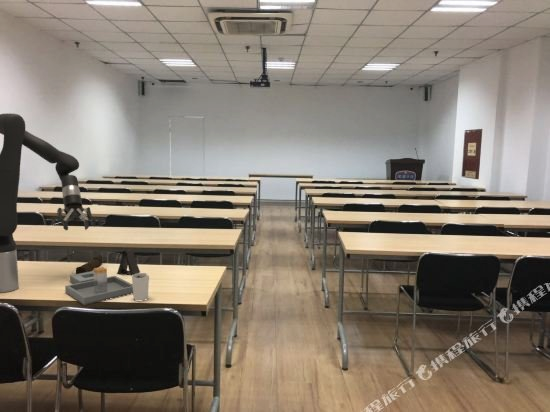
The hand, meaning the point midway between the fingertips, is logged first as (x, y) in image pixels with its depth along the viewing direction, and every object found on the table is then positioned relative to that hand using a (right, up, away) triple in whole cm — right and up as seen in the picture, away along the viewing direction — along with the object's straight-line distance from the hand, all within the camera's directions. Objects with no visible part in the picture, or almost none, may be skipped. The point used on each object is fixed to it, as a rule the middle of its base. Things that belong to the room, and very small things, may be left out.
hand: (76, 229), depth 196 cm
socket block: (+4, -24, +3) cm, 25 cm away
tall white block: (+15, -26, -11) cm, 32 cm away
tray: (+15, -27, -11) cm, 33 cm away
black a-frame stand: (+17, -23, +18) cm, 34 cm away
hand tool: (-4, -22, +23) cm, 32 cm away
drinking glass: (+34, -28, -17) cm, 48 cm away
